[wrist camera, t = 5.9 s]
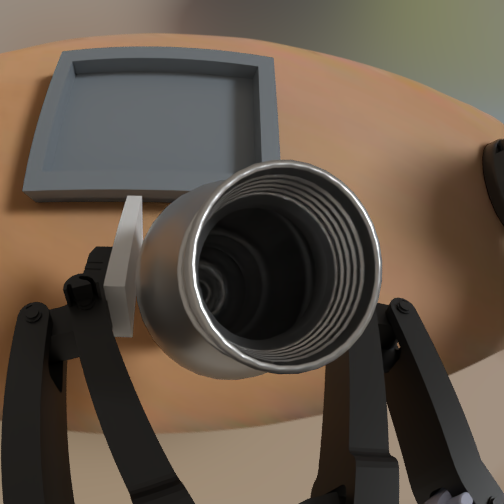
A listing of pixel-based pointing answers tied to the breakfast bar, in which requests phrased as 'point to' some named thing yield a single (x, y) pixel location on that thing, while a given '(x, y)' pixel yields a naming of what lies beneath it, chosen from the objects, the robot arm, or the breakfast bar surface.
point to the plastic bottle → (260, 272)
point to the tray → (150, 123)
